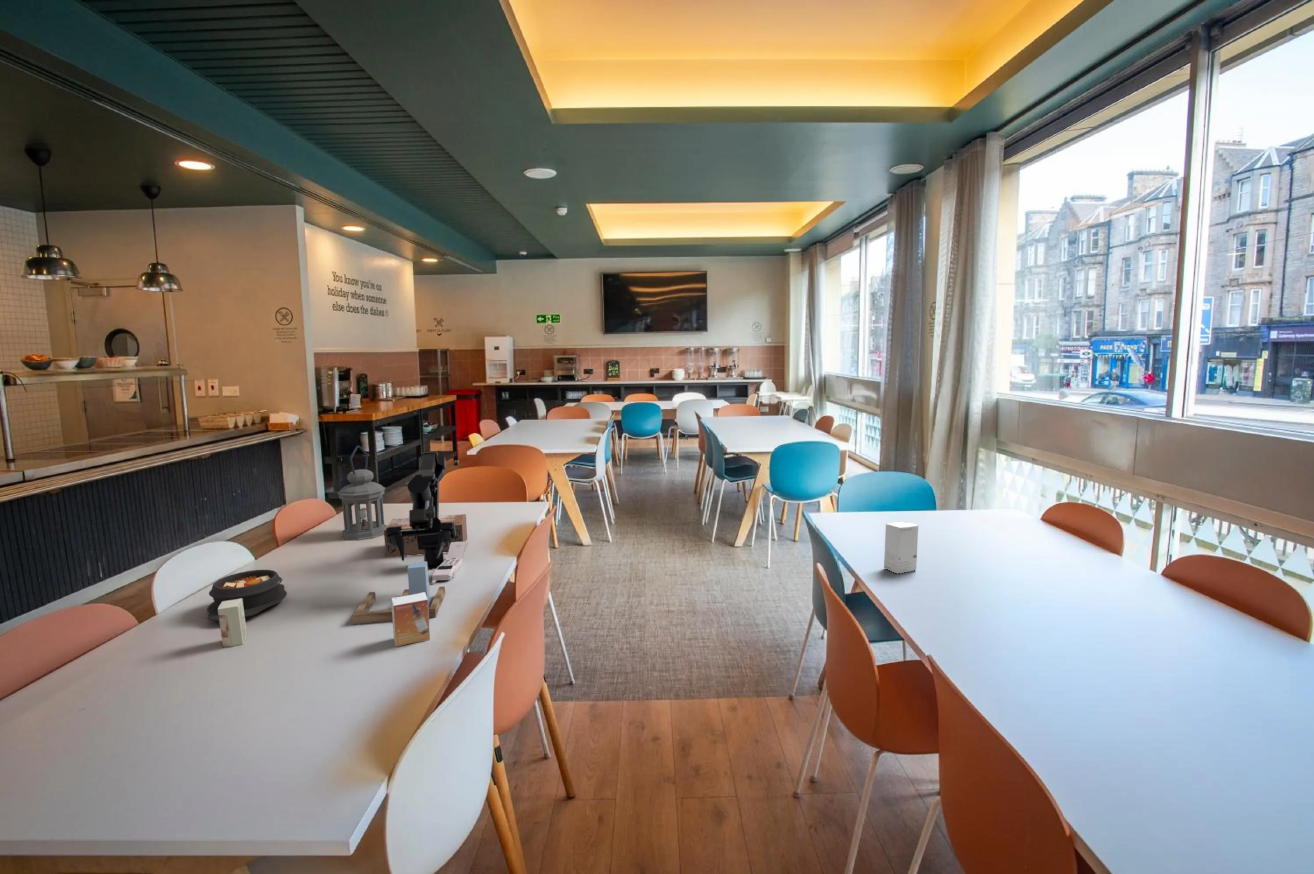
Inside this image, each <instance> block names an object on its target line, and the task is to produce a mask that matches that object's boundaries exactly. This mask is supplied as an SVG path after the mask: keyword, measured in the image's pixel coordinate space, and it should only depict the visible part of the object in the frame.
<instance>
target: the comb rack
mask: <svg viewBox="0 0 1314 874" xmlns="http://www.w3.org/2000/svg"><path fill="white" fill-rule="evenodd" d="M408 595H409V588H407V589H404V590H403V592H402V593H401V595H400V597H402V596H408ZM376 597H377V596H376V591H369V592H368V594H367V595H366V596H365V598H364V599H363V600H362V601H361V603H360V604H359V606H358V607H357V608H356V610H355V611H354V612H353V614H352V625H361V624H360V623H364V624H371V623H370V622H375V623H383V622H384V623H385V621H387V622H393V617H392V609H386V610H385V609H384V610H374V611H373V610H372V611H370V609H371V608H372V606H373V605H374V603H375V602H376V600H377V598H376ZM445 597H446V587H445V586H439V587H438V589H437V591H436V593H435V595H434V598H433V600H432V602H431V603H430V605H429V607H428V611H429V619H432V618H437V615H438V613H439V610H440V608H441V605H442V603H443V601H444V599H445Z"/></svg>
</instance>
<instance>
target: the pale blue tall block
mask: <svg viewBox="0 0 1314 874" xmlns="http://www.w3.org/2000/svg"><path fill="white" fill-rule="evenodd" d="M428 572H429V570H428V567H427V561H425V562H424V561H416V562H409V564H408V567H407V579H408V580H407V581H408V589H409V595H413V594H419V593H422V592H425V594H426V596H427V599H428V607H430V605H431V603H430V602H431V598H430V583H429V573H428Z"/></svg>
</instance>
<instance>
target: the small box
mask: <svg viewBox="0 0 1314 874" xmlns="http://www.w3.org/2000/svg"><path fill="white" fill-rule="evenodd" d="M391 610H392V617H393V621H392V629H393V631H392V632H393V640H394V645H395V647H399V646H405V645H409V644H414V643H420V642H426V640H427V641H430V640H431V629H430V618H429V611H428V599H427V596H426V594H425V592H422V593H419V594H413V595H408V596H402V597H401V596H397V597H391Z"/></svg>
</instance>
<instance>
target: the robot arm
mask: <svg viewBox="0 0 1314 874" xmlns="http://www.w3.org/2000/svg"><path fill="white" fill-rule="evenodd" d="M418 468H419V470H418V471H416V472H415V473H413V475H412V478H411V479H410V480H409V482H408V483H407V490H408V493H409V497H410V500H411V502H412V509H410V510H408V512H409V513H408V514H409V515H408V516H409V517H408V518H409V522H410V524H409V525H410V527H411V529H409V530H402V528H401V526H388V527H387V528H386V531H385V535H386V538H387V540H388V543H390V544H393V545H394V546H397V547H398V549H399V552H400V555H401V556H400V558H401V560H402V562H404V561H405V556H404V542H403V537H407V536H417V542H418V549H419V550H423V549H424V554H423V562H425V561H427V567H428V569H429V570H433V569H437V568H438V567H439V566H440V565H441V564H442V563H443V562H444V561H445V559H444V553H443V548H446V547H447V546H448V541H451V539H453V538H455V537H456V529H455V524H454V523H453V522H441V521H440V520H439V516H440V515H439V514H440V513H439V512H440V511H439V509H440V483H441V481H442V479H443V478H444V477H445V470H447V460H446V457H445V456H443V455H441V454H439V452H438V451H424V452H421V456H420V457H418Z"/></svg>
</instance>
